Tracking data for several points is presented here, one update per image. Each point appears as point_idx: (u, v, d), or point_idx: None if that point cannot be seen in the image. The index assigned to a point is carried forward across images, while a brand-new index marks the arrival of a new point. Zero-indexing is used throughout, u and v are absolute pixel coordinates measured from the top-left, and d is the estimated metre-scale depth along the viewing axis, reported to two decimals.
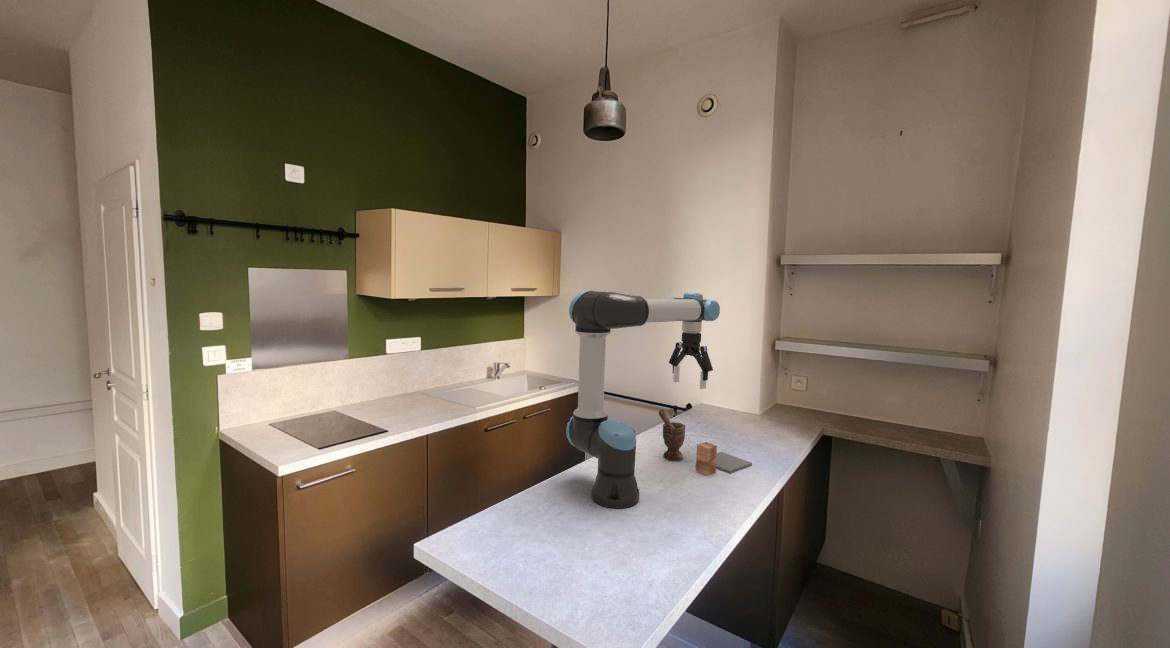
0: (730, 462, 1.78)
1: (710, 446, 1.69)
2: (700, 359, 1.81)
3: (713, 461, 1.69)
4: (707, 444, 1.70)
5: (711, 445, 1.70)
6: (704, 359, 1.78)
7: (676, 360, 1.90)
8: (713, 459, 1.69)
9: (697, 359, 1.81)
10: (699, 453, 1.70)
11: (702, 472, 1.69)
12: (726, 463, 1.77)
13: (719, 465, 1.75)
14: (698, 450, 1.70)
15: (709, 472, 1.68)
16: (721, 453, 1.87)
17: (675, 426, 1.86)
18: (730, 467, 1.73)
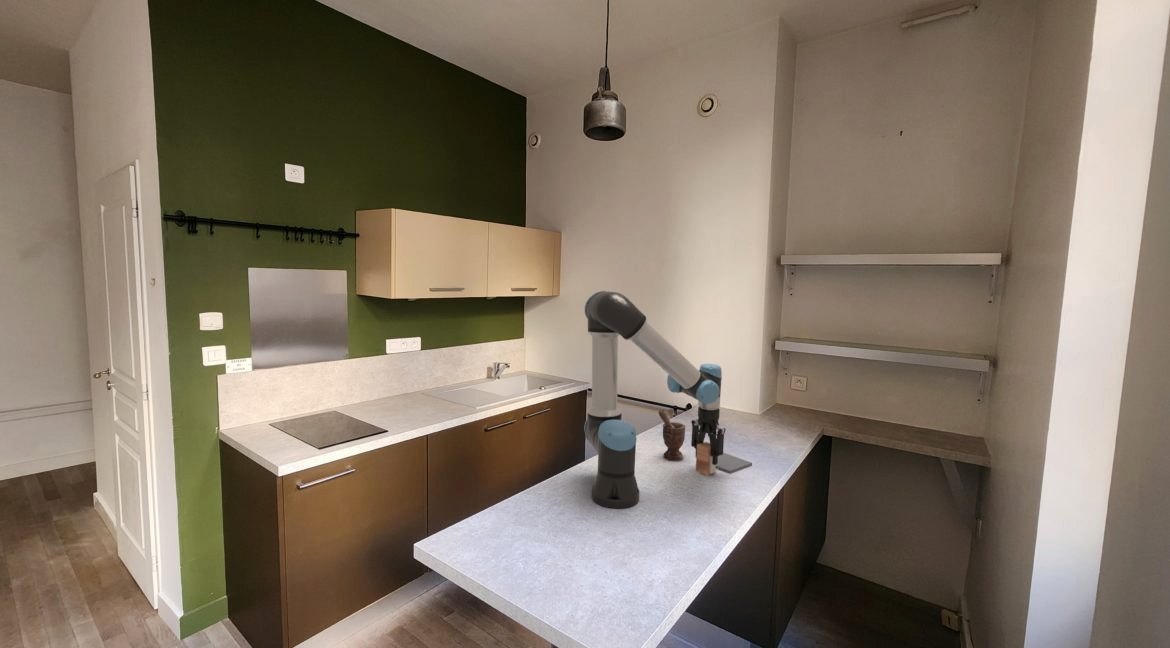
0: (730, 462, 1.78)
1: (710, 446, 1.69)
2: (714, 440, 1.67)
3: None
4: (707, 444, 1.70)
5: None
6: (718, 443, 1.65)
7: (698, 442, 1.72)
8: None
9: (711, 440, 1.67)
10: (699, 453, 1.70)
11: (702, 472, 1.69)
12: (726, 463, 1.77)
13: (719, 465, 1.75)
14: (698, 450, 1.70)
15: None
16: None
17: (675, 426, 1.86)
18: (730, 467, 1.73)
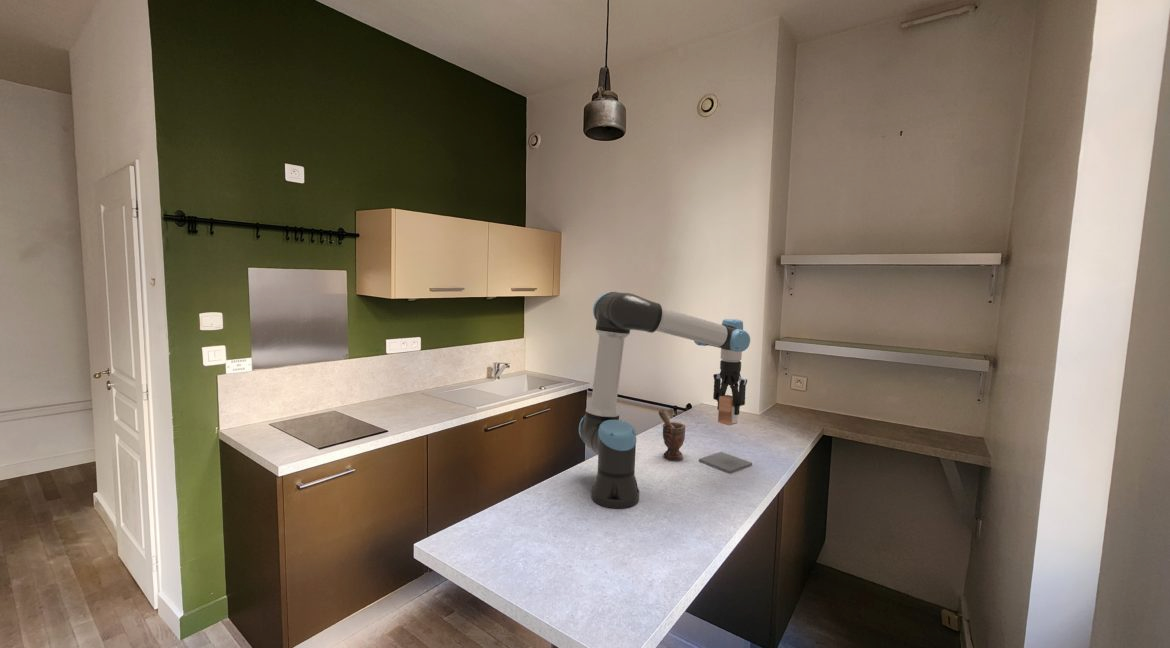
0: (730, 462, 1.78)
1: (732, 397, 1.76)
2: (736, 392, 1.74)
3: None
4: (729, 396, 1.78)
5: None
6: (740, 393, 1.72)
7: (720, 394, 1.79)
8: None
9: (733, 391, 1.74)
10: (721, 404, 1.77)
11: (724, 422, 1.76)
12: (726, 463, 1.77)
13: (719, 465, 1.75)
14: (720, 402, 1.77)
15: None
16: (721, 453, 1.87)
17: (675, 426, 1.86)
18: (730, 467, 1.73)
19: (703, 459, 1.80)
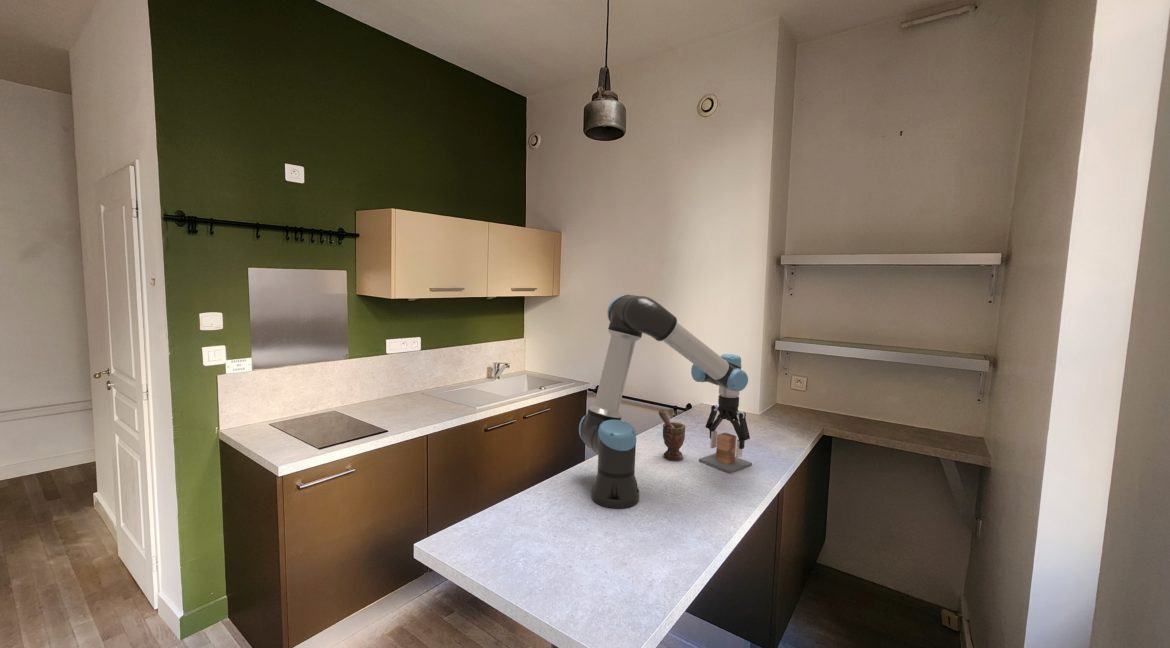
0: None
1: (730, 436, 1.77)
2: (737, 426, 1.74)
3: (733, 450, 1.78)
4: (727, 435, 1.79)
5: (731, 435, 1.78)
6: (742, 427, 1.72)
7: (713, 425, 1.82)
8: (733, 448, 1.78)
9: (734, 425, 1.74)
10: (719, 443, 1.78)
11: (722, 461, 1.78)
12: None
13: (719, 465, 1.75)
14: (718, 440, 1.79)
15: (729, 461, 1.77)
16: None
17: (675, 426, 1.86)
18: (730, 467, 1.73)
19: (703, 459, 1.80)
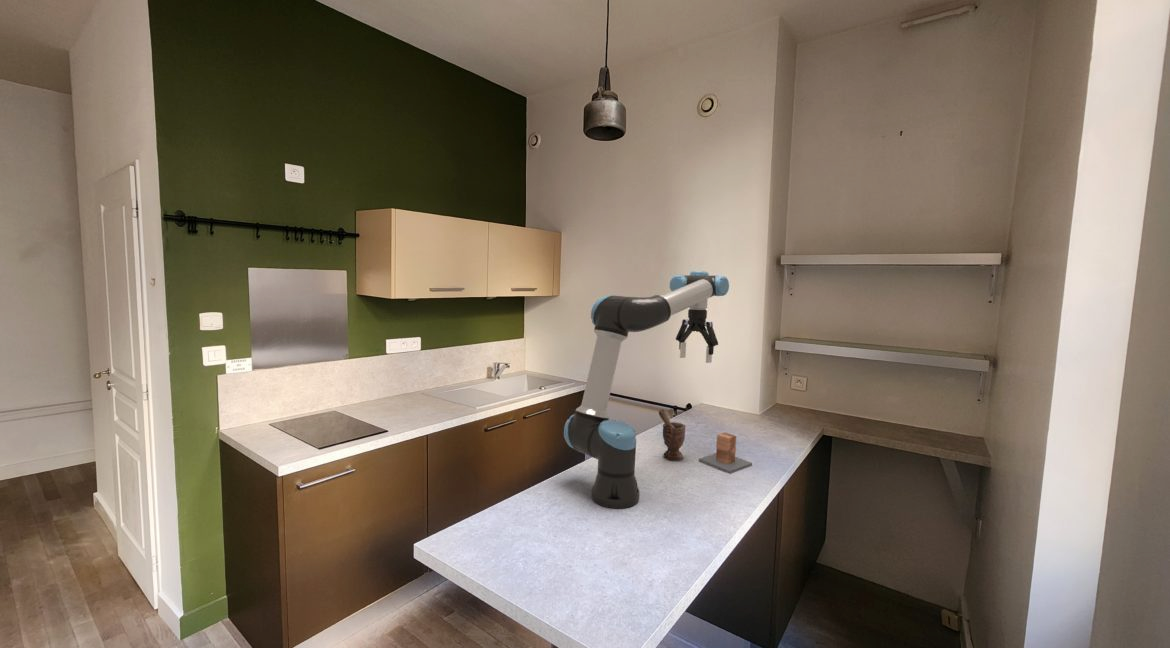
0: None
1: (730, 436, 1.77)
2: (706, 334, 1.89)
3: (733, 450, 1.78)
4: (727, 435, 1.79)
5: (731, 435, 1.78)
6: (710, 334, 1.87)
7: (683, 336, 1.98)
8: (733, 448, 1.78)
9: (703, 334, 1.89)
10: (719, 443, 1.78)
11: (722, 461, 1.78)
12: None
13: (719, 465, 1.75)
14: (718, 440, 1.79)
15: (729, 461, 1.77)
16: None
17: (675, 426, 1.86)
18: (730, 467, 1.73)
19: (703, 459, 1.80)
